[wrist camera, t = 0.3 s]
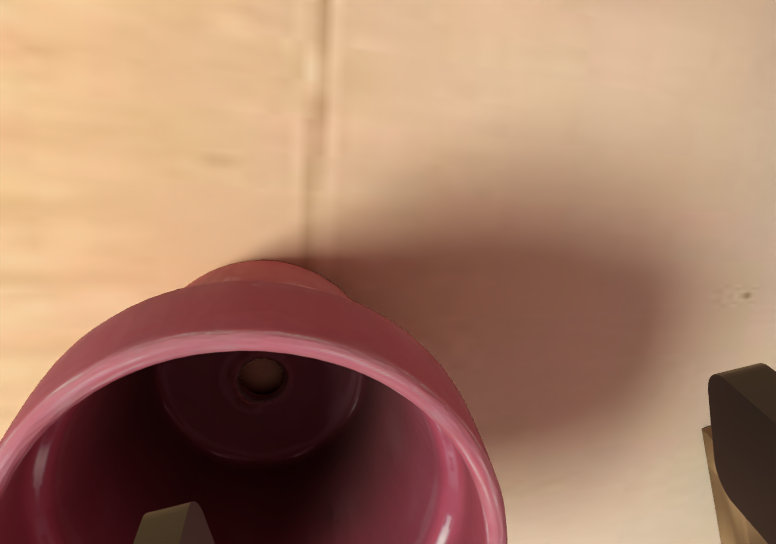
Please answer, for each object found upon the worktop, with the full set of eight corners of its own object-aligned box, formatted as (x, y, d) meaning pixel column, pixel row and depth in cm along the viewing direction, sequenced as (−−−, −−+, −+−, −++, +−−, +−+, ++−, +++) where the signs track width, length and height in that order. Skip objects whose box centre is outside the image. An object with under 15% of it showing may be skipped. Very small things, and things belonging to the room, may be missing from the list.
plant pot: (60, 196, 27) (-110, 351, 15) (431, 188, 29) (534, 321, 17) (107, 512, 32) (6, 811, 20) (422, 488, 34) (496, 751, 22)
